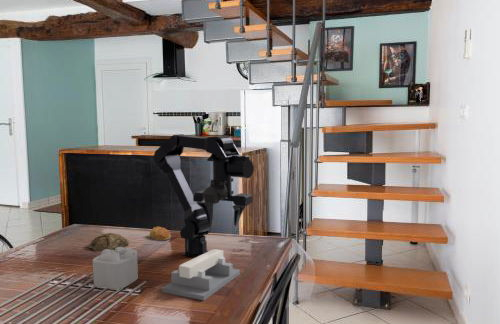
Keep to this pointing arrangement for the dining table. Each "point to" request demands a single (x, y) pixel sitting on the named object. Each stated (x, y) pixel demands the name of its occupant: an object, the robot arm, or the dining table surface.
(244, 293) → the dining table surface
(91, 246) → the mottled brown rock
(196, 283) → the grey pegged plate
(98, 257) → the white lego brick
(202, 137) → the robot arm
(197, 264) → the clay strip
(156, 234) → the pastry
